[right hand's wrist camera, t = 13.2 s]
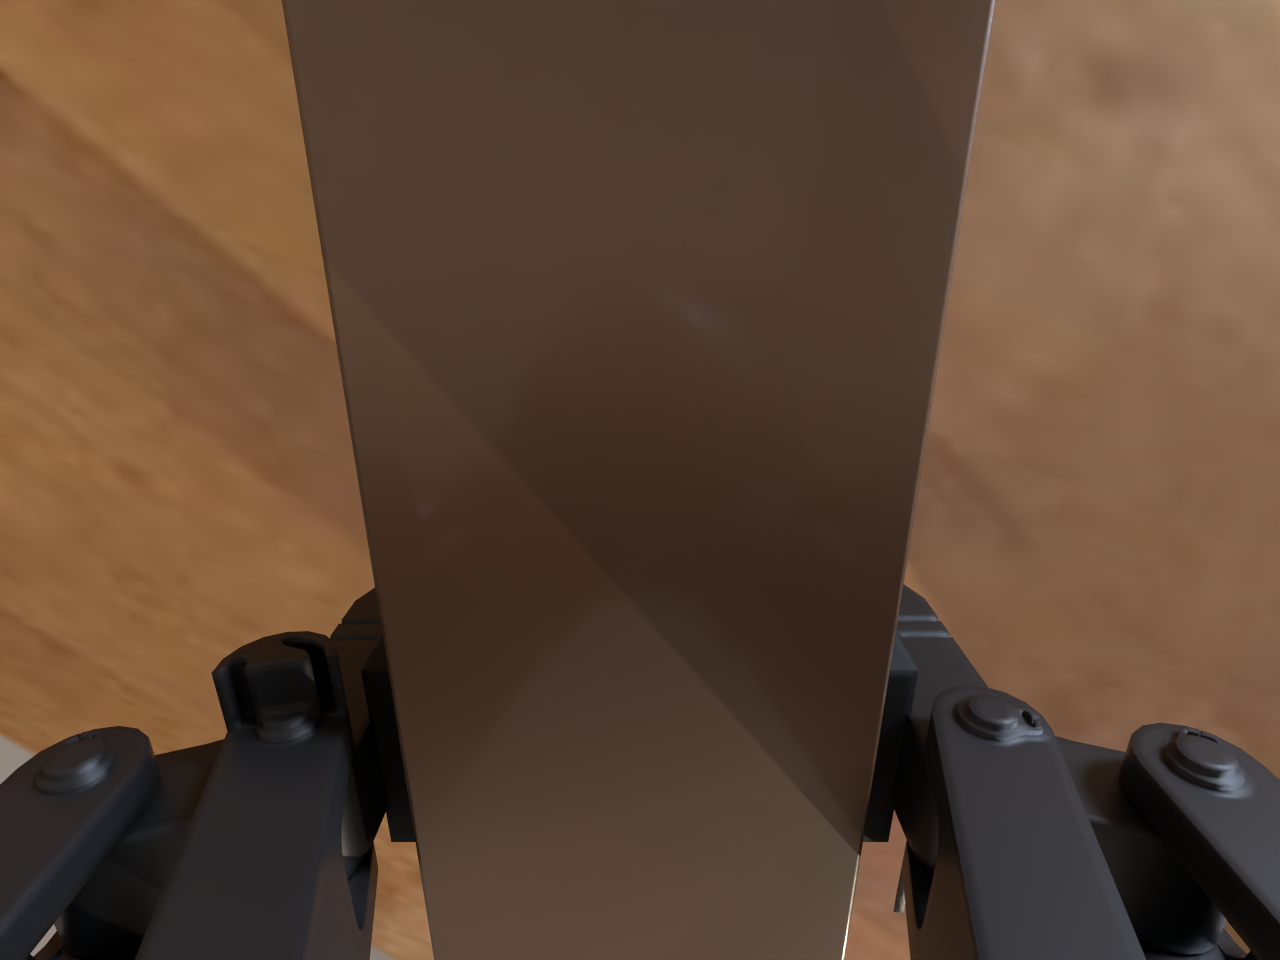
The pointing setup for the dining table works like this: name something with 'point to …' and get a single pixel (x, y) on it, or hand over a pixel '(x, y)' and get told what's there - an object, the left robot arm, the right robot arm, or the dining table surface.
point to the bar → (638, 436)
